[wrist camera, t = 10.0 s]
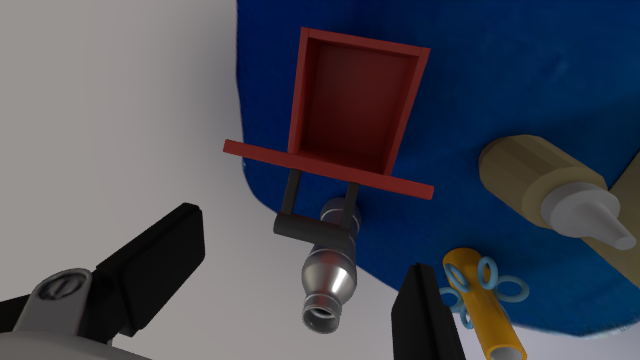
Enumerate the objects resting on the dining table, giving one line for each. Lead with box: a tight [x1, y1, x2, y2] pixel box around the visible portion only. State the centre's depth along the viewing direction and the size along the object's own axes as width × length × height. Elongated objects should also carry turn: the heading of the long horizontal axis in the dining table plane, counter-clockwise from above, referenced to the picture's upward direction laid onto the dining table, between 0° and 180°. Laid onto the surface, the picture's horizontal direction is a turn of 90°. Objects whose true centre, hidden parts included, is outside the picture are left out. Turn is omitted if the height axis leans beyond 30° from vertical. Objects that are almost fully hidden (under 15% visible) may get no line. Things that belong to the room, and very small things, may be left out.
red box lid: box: [223, 139, 434, 252], centre depth 22 cm, size 15×13×5 cm
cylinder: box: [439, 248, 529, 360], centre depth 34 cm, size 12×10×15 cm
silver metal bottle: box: [302, 197, 361, 334], centre depth 32 cm, size 6×7×20 cm
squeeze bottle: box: [479, 135, 637, 250], centre depth 25 cm, size 8×8×18 cm
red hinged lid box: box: [287, 27, 430, 176], centre depth 30 cm, size 15×13×8 cm
